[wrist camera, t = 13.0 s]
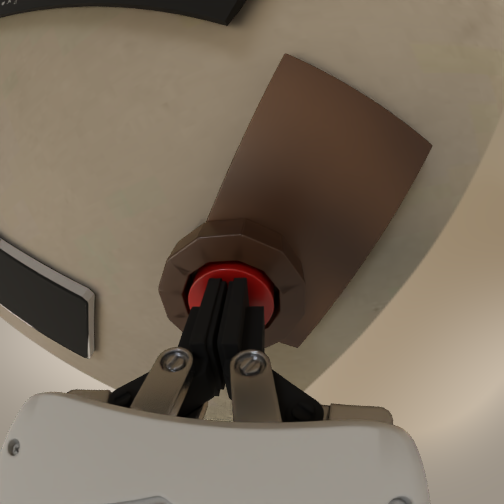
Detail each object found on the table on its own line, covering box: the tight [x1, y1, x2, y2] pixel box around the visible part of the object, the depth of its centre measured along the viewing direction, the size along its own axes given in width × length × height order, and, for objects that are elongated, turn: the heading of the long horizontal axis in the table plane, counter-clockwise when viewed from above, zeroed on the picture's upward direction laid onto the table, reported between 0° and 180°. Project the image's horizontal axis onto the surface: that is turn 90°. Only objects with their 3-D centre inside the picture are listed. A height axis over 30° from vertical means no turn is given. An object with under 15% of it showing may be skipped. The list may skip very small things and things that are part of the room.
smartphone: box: [0, 238, 95, 359], centre depth 17 cm, size 8×1×15 cm
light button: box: [188, 260, 274, 325], centre depth 13 cm, size 4×4×2 cm
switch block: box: [159, 54, 432, 348], centre depth 12 cm, size 14×9×3 cm, turn 156°
